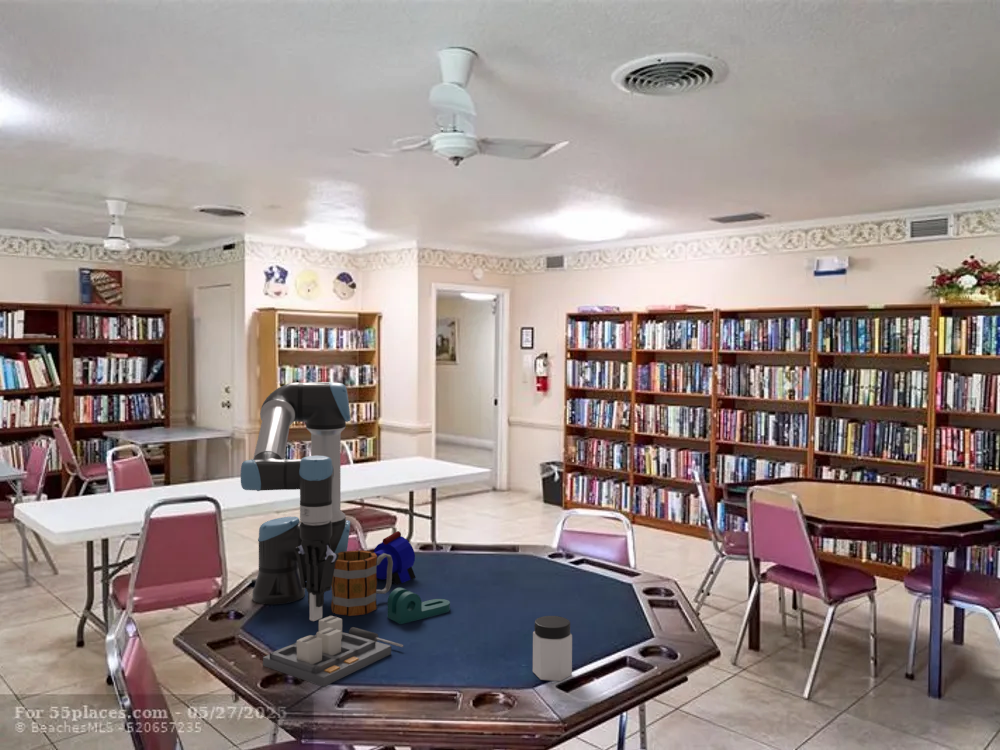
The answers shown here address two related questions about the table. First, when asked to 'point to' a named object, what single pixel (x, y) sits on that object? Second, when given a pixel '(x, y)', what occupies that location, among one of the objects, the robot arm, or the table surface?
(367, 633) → the screwdriver
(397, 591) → the bracket
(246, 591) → the table surface
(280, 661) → the switch bank
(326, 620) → the small white box
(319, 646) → the small white box
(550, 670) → the jar
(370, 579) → the mug
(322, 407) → the robot arm
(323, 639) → the white grooved block
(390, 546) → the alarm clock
